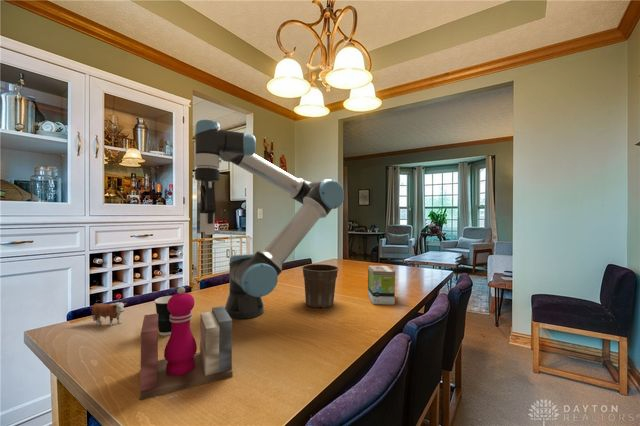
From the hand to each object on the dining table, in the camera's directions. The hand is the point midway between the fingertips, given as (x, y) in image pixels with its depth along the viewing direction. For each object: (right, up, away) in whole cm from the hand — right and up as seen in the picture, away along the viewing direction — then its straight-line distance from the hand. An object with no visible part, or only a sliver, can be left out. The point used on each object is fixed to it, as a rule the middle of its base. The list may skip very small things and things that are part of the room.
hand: (206, 233), depth 95 cm
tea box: (+65, -34, +39) cm, 83 cm away
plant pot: (+37, -33, +31) cm, 59 cm away
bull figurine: (-37, -33, +6) cm, 50 cm away
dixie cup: (-13, -33, 0) cm, 35 cm away
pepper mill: (+3, -32, -24) cm, 40 cm away
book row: (+5, -33, -24) cm, 41 cm away
